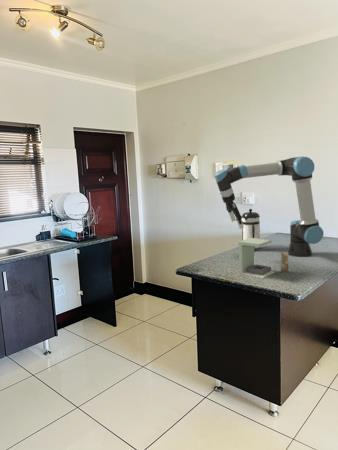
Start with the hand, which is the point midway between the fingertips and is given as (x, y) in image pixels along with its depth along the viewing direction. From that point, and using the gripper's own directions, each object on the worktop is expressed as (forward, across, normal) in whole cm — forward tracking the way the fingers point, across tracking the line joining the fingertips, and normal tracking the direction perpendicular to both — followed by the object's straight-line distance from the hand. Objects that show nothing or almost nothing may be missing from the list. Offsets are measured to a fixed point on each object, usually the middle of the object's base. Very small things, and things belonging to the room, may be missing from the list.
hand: (237, 224), depth 217 cm
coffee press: (+36, -24, +10) cm, 44 cm away
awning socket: (+17, +31, -6) cm, 36 cm away
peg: (+22, +34, +8) cm, 42 cm away
